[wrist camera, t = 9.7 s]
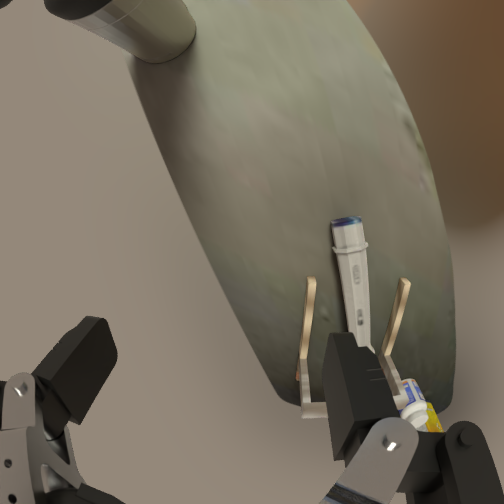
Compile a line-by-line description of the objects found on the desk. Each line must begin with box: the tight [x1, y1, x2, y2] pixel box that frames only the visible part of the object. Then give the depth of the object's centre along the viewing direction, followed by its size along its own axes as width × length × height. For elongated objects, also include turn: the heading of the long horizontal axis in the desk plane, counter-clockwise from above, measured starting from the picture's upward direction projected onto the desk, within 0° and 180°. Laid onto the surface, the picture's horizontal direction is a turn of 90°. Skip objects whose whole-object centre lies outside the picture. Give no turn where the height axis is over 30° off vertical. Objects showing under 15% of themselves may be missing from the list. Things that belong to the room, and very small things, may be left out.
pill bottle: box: [392, 379, 428, 428], centre depth 39 cm, size 5×5×10 cm
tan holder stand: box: [296, 276, 411, 418], centre depth 34 cm, size 18×16×12 cm
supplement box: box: [399, 400, 444, 432], centre depth 41 cm, size 6×6×11 cm
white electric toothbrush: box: [330, 216, 375, 354], centre depth 36 cm, size 5×7×25 cm
